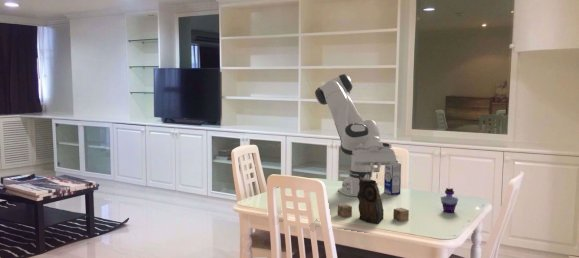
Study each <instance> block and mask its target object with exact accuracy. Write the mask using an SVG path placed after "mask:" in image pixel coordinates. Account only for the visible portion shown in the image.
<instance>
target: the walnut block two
mask: <svg viewBox="0 0 579 258" xmlns="http://www.w3.org/2000/svg"><path fill="white" fill-rule="evenodd" d="M409 217H410V209H406V208H404V207H398V208H393V218H392V219H393V220H395V221H398V222H406V221H409V219H410V218H409Z"/></svg>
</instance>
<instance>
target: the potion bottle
mask: <svg viewBox="0 0 579 258" xmlns="http://www.w3.org/2000/svg"><path fill="white" fill-rule="evenodd" d="M444 194H445V196H441V197H440V200H441V204H442V211H443V212H444V213H446V214H447V213H448V214H453V213H455V211H456V210H455V209H456V206H457V205H458V201H459V198H458V197H455V196H453V195H455V191H454V188H453V187H446V188H445V190H444Z"/></svg>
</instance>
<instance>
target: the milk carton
mask: <svg viewBox="0 0 579 258" xmlns="http://www.w3.org/2000/svg"><path fill="white" fill-rule="evenodd" d="M383 175H384V178H383V179H384V180H383V181H384V182H383V185H384V186H383V193H385V194H387V195H390V196H395V195H400V194H401V183H402V181H401V176H402V163H399V160H396V163H395V165H384V173H383Z"/></svg>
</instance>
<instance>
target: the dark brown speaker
mask: <svg viewBox="0 0 579 258" xmlns="http://www.w3.org/2000/svg"><path fill="white" fill-rule="evenodd" d="M371 179H372V178H371ZM371 179H367V178H361V177H359V192H358V196H357V198H358V206H357V207H358V212H359V217H358V218H359V220H361V221H363V222H366V223H368V224H369V223H370V224H380V223H381V222H382V221H383V220H384V215H385V213H384V208H383V207H384V206H383V201H382V197H381V194H380V188H379V186H378V184H377V181H376V180H375V179H374V180H373V179H372V180H371Z"/></svg>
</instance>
